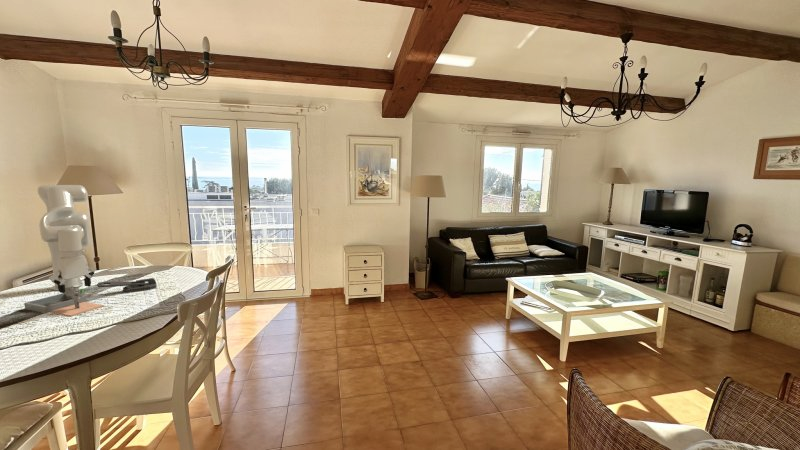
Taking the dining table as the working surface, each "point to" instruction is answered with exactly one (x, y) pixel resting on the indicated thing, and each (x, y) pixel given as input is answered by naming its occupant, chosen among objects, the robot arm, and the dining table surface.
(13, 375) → the dining table surface
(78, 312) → the rubber mat
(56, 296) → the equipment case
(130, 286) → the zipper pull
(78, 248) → the robot arm
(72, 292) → the mechanical component
